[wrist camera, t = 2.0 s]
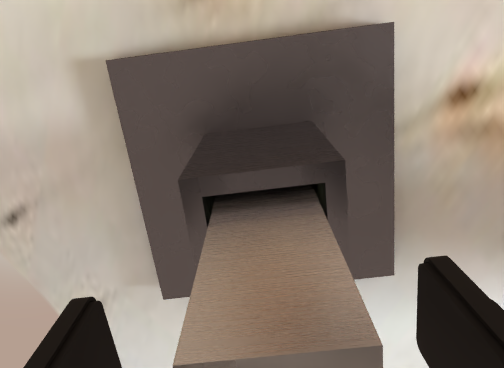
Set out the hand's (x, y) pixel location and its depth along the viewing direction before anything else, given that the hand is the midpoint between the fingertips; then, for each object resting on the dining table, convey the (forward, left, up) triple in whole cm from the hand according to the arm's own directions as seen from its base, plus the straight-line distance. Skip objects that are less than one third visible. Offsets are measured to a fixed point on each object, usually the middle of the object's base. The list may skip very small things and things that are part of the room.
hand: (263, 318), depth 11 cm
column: (0, 0, -13) cm, 13 cm away
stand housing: (0, 0, -15) cm, 15 cm away
